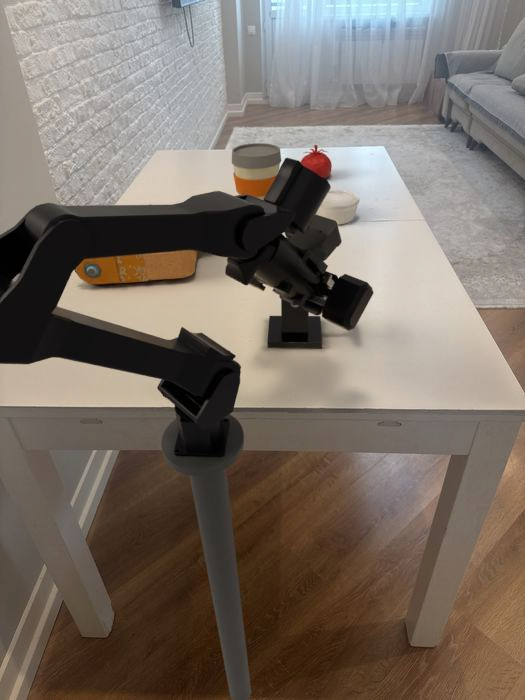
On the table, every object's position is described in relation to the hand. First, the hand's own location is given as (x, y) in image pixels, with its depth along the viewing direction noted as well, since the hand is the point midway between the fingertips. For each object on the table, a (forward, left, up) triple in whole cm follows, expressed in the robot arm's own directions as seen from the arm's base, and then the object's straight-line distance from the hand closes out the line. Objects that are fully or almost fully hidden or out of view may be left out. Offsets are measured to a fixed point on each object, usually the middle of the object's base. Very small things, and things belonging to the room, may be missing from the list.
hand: (327, 304), depth 73 cm
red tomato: (+89, -1, -10) cm, 90 cm away
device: (+33, +35, -10) cm, 49 cm away
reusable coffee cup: (+64, +15, -10) cm, 67 cm away
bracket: (+6, +5, -10) cm, 13 cm away
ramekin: (+57, -5, -10) cm, 59 cm away
